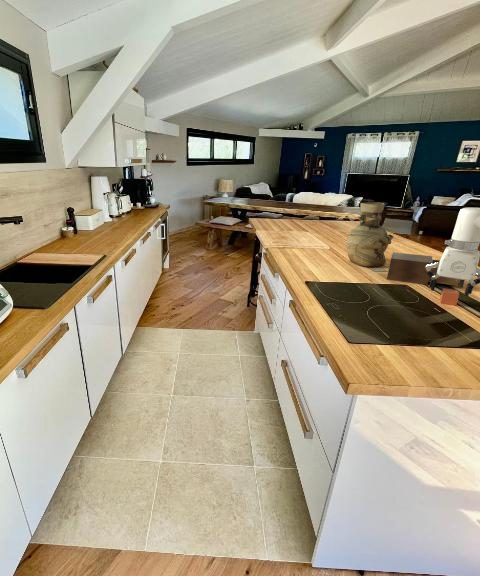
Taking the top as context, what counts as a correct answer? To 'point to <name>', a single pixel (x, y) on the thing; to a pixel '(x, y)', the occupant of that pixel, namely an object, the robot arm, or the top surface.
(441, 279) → the drawer
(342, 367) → the top surface
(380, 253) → the ceramic vessel
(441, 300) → the block
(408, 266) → the cabinet
